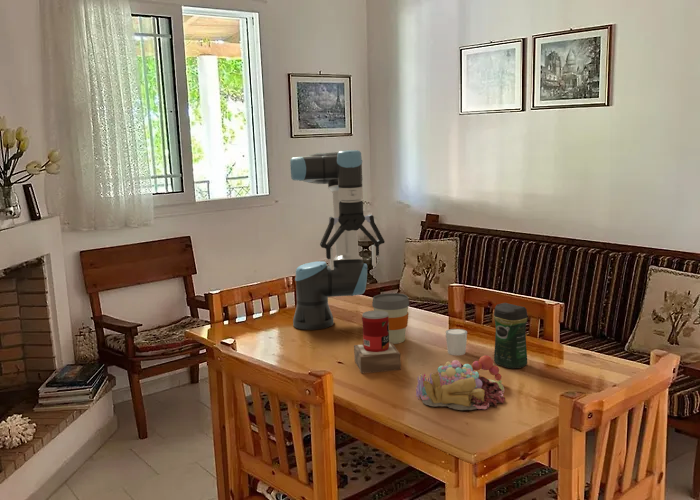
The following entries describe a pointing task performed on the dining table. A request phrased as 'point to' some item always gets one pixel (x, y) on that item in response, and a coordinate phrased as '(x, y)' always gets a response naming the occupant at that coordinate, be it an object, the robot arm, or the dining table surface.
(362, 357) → the base
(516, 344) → the coffee jar
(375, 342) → the canned food
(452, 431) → the dining table surface
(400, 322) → the reusable coffee cup
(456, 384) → the candy landscape model
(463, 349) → the shot glass
